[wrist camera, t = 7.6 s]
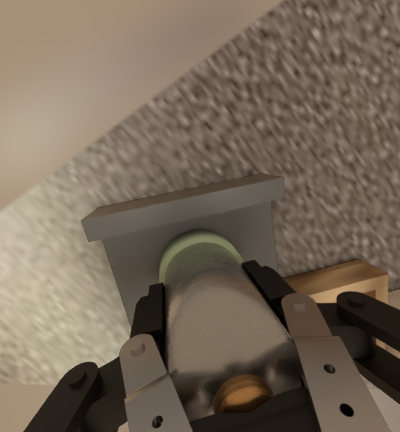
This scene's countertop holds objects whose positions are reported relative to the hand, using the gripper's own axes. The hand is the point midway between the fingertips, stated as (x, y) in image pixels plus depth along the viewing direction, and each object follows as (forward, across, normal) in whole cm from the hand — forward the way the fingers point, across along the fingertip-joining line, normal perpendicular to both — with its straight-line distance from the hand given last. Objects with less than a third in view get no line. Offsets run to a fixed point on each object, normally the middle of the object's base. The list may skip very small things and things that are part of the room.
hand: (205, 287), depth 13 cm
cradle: (+4, 0, 0) cm, 4 cm away
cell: (+1, 0, 0) cm, 1 cm away
